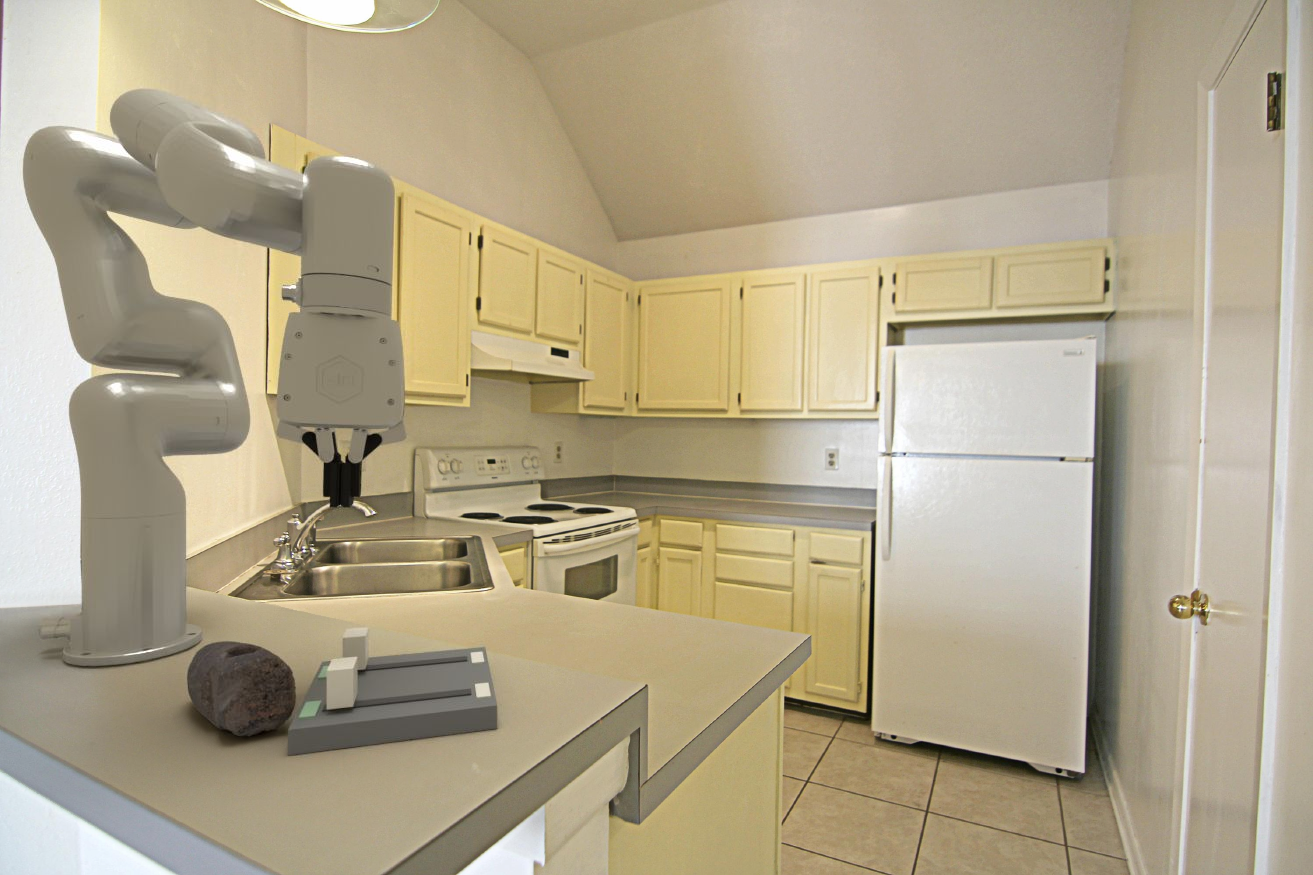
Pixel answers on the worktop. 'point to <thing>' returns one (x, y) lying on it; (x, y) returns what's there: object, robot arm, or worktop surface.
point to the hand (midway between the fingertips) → (342, 505)
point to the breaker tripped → (342, 683)
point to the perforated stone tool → (241, 687)
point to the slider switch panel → (400, 702)
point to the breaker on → (357, 645)
